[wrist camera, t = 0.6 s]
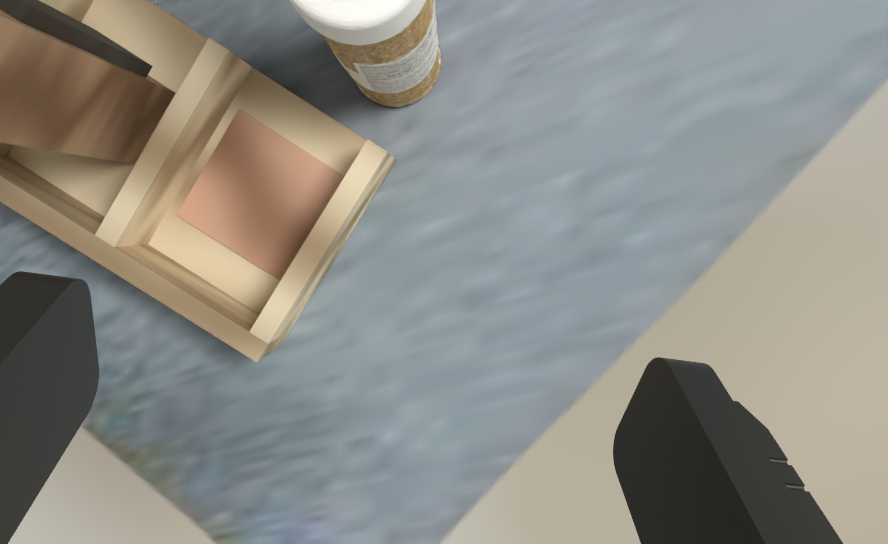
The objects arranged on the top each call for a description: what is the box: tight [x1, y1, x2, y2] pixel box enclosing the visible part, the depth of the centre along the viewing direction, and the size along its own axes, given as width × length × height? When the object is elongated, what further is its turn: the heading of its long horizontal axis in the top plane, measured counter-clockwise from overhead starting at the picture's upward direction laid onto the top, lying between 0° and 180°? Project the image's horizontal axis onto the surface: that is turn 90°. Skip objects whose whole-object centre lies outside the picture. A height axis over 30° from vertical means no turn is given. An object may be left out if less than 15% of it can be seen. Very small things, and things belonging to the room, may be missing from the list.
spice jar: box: [289, 0, 441, 107], centre depth 24 cm, size 5×5×13 cm
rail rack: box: [0, 0, 396, 362], centre depth 24 cm, size 11×25×13 cm, turn 57°
